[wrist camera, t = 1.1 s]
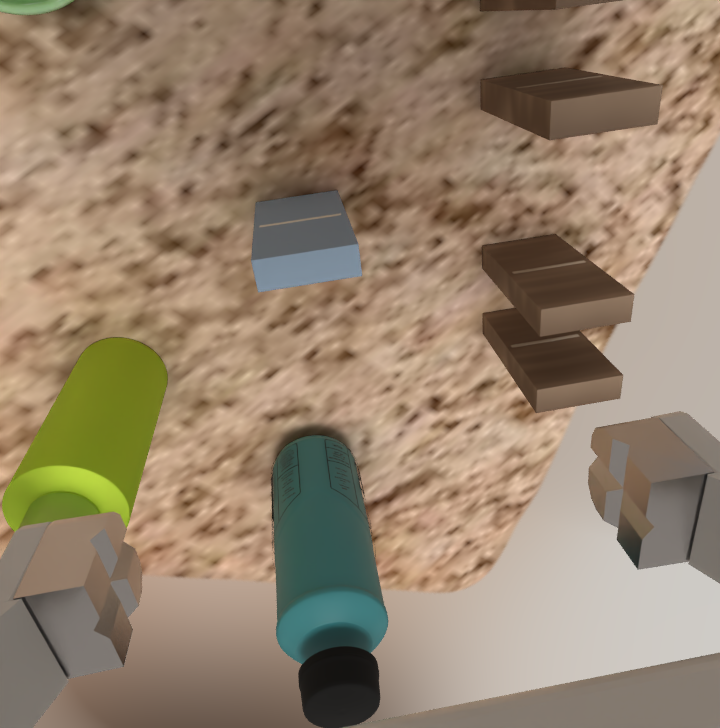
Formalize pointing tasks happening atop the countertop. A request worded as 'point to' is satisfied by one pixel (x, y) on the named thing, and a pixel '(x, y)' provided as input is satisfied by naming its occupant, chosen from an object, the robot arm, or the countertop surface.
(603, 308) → the domino
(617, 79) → the domino
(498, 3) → the domino
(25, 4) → the ramekin
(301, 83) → the countertop surface
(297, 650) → the beverage bottle
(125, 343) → the soap dispenser
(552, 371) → the domino
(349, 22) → the countertop surface
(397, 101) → the countertop surface
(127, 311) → the countertop surface
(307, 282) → the domino
